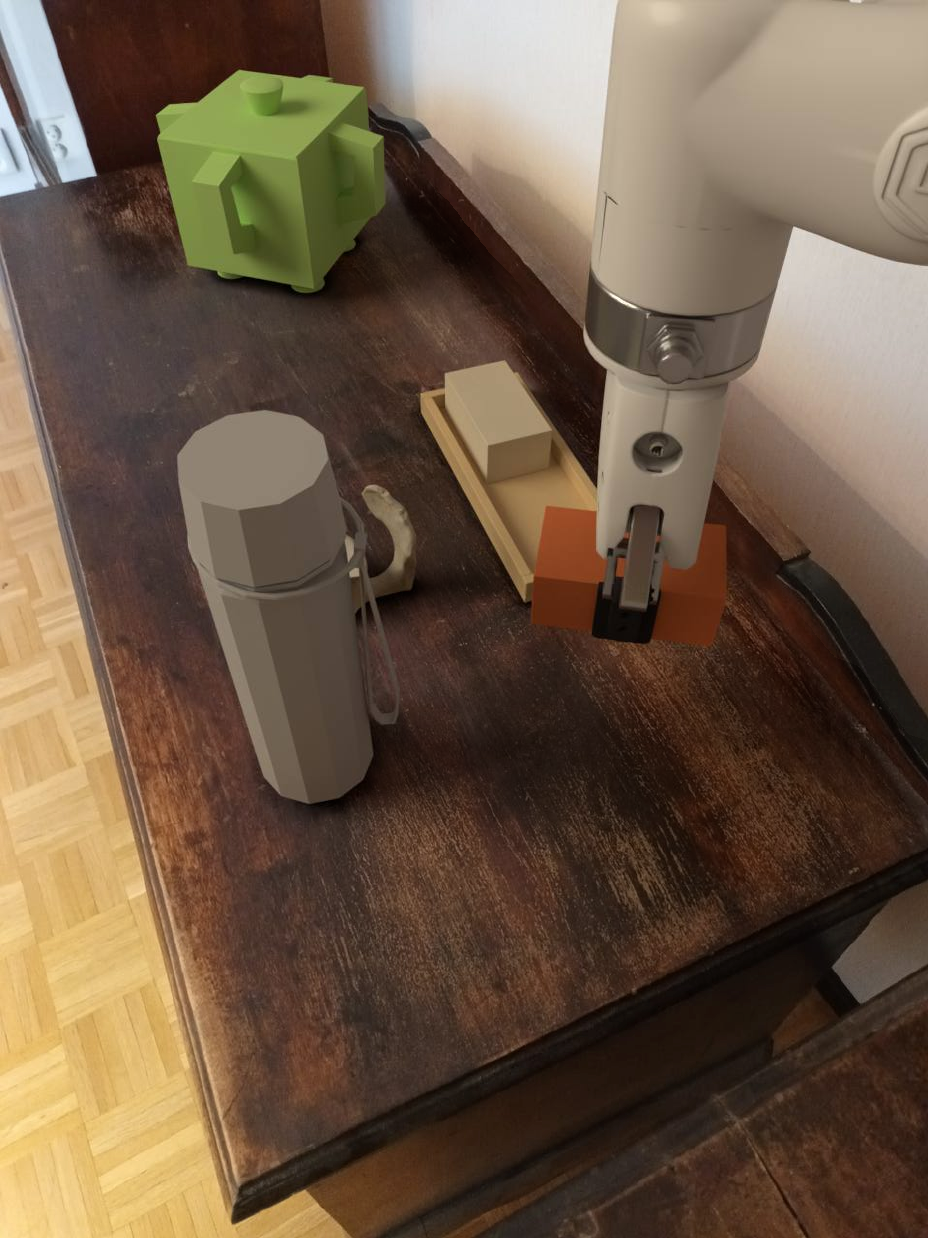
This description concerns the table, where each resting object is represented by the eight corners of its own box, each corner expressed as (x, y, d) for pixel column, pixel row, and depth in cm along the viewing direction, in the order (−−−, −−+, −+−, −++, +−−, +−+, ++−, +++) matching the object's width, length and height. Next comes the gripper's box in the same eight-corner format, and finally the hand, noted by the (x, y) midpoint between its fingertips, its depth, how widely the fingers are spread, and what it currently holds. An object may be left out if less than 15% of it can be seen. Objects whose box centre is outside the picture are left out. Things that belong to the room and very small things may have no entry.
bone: (268, 603, 65) (295, 467, 61) (308, 580, 71) (335, 455, 67) (379, 645, 63) (413, 508, 60) (410, 618, 69) (443, 492, 66)
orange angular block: (712, 574, 54) (726, 524, 51) (712, 647, 50) (727, 599, 47) (542, 554, 55) (545, 505, 52) (530, 624, 52) (533, 575, 48)
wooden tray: (636, 571, 69) (640, 552, 68) (524, 603, 67) (526, 583, 66) (516, 391, 83) (517, 371, 82) (420, 412, 81) (420, 393, 80)
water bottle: (250, 813, 56) (142, 517, 37) (271, 706, 61) (186, 397, 42) (400, 818, 56) (371, 523, 37) (409, 710, 61) (387, 402, 42)
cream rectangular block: (548, 468, 76) (552, 429, 73) (486, 484, 74) (487, 445, 71) (503, 398, 82) (505, 359, 79) (445, 411, 80) (444, 372, 77)
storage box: (340, 340, 88) (319, 156, 75) (132, 299, 93) (78, 119, 79) (426, 218, 103) (422, 47, 90) (244, 188, 108) (214, 21, 95)
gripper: (776, 447, 33) (688, 729, 47) (761, 216, 43) (693, 500, 57) (565, 426, 34) (540, 709, 47) (602, 204, 44) (573, 487, 58)
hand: (624, 592), depth 52 cm, fingers closed on orange angular block, 5 cm apart
